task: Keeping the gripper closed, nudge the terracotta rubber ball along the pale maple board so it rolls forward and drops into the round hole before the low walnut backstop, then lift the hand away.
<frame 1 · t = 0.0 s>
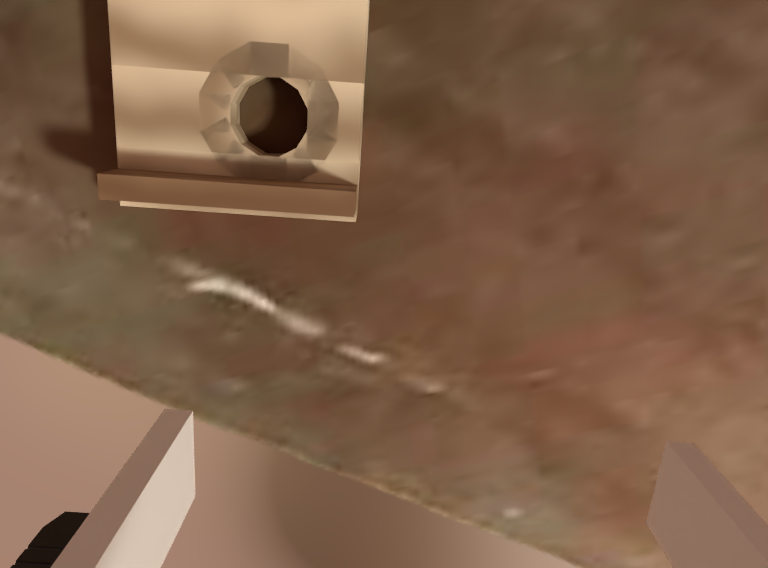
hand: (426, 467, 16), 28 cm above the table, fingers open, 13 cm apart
board: (246, 19, 39), on the table
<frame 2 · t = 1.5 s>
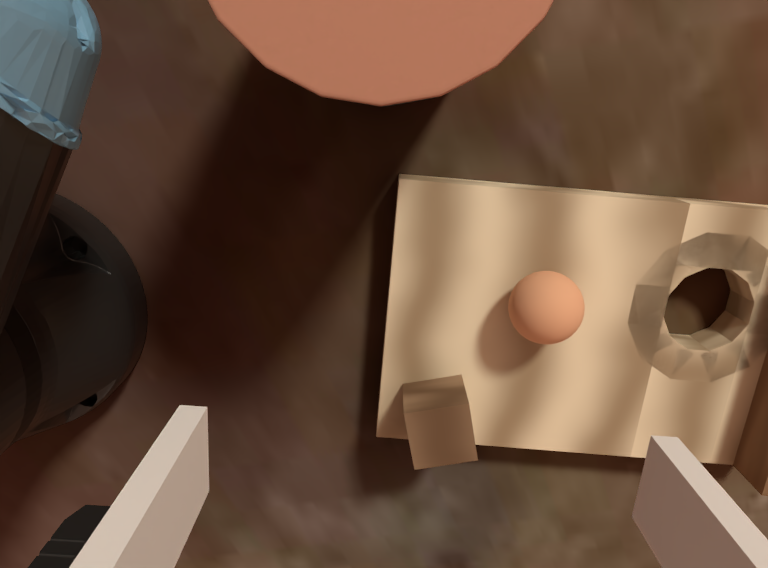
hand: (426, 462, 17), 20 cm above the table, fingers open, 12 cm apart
coffee jar: (386, 4, 32), on the table
board: (585, 319, 37), on the table
ball: (545, 307, 32), point 4 cm above the table, touching board
walnut cube: (436, 405, 36), point 2 cm above the table, touching board
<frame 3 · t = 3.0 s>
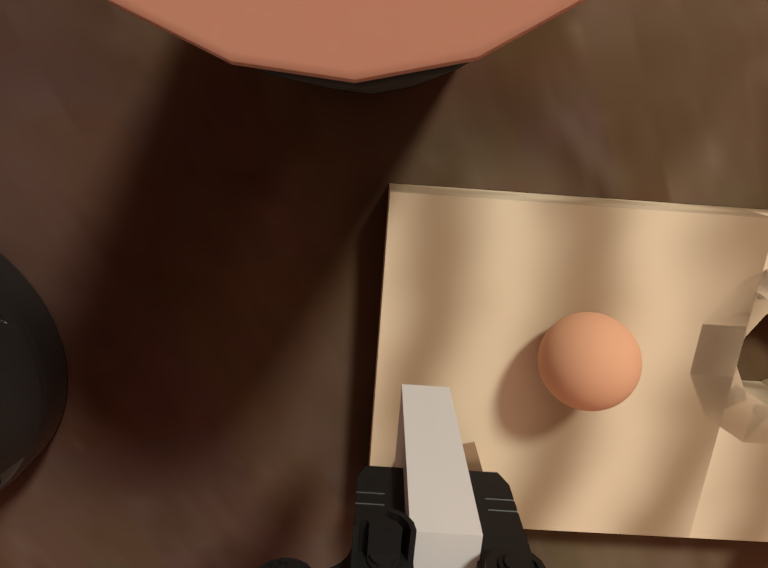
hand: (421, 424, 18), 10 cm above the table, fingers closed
board: (630, 364, 29), on the table
ball: (588, 361, 24), point 4 cm above the table, touching board
walnut cube: (442, 480, 28), point 2 cm above the table, touching board
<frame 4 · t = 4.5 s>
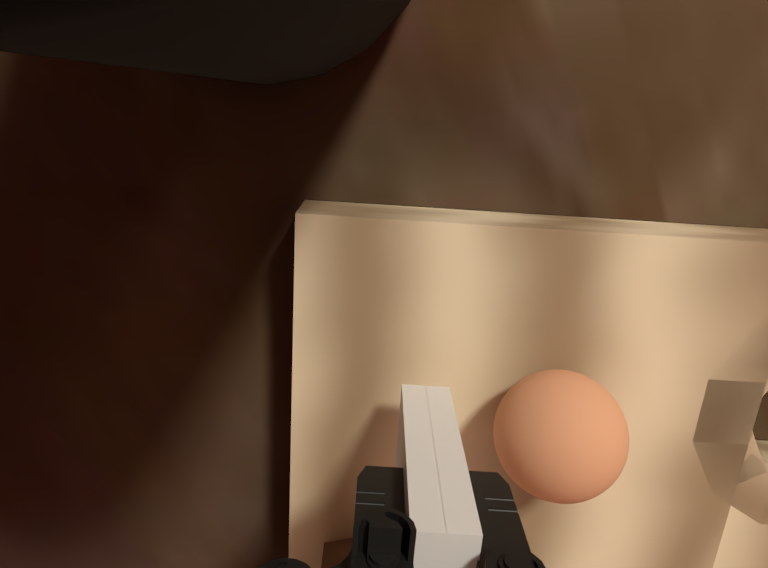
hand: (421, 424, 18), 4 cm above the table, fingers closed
board: (617, 421, 23), on the table
ball: (559, 434, 18), point 4 cm above the table, touching board
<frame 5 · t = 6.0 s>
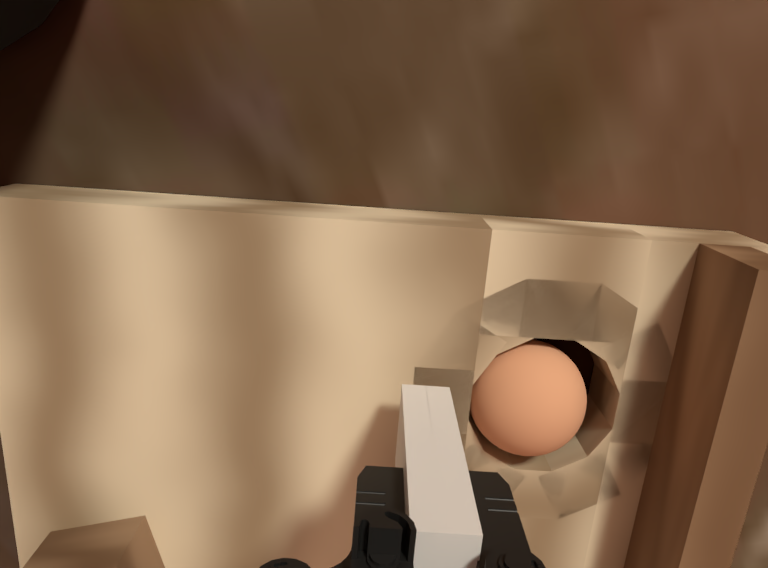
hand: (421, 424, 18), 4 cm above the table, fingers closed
board: (365, 411, 23), on the table
ball: (526, 396, 20), point 2 cm above the table, tilted 57°
walnut cube: (113, 563, 22), point 2 cm above the table, touching board
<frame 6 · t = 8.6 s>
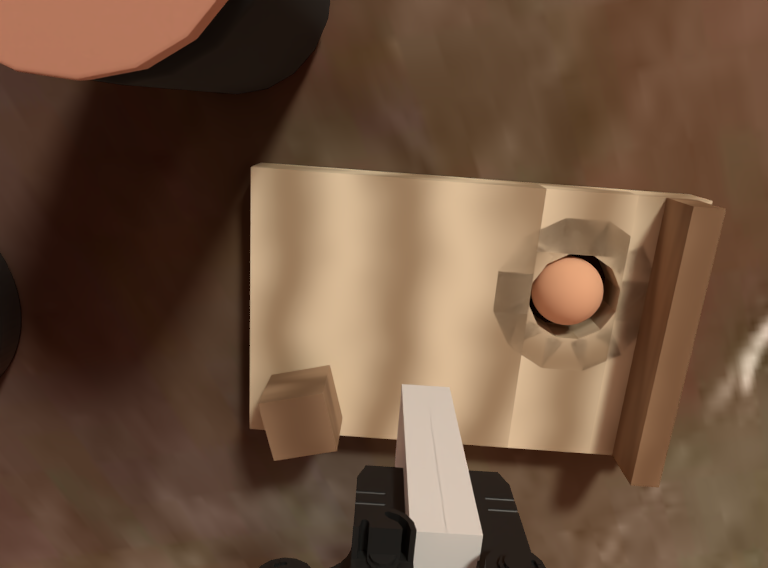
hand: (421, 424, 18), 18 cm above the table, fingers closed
board: (460, 308, 36), on the table
ball: (566, 290, 34), point 2 cm above the table, tilted 54°
walnut cube: (307, 396, 35), point 2 cm above the table, touching board
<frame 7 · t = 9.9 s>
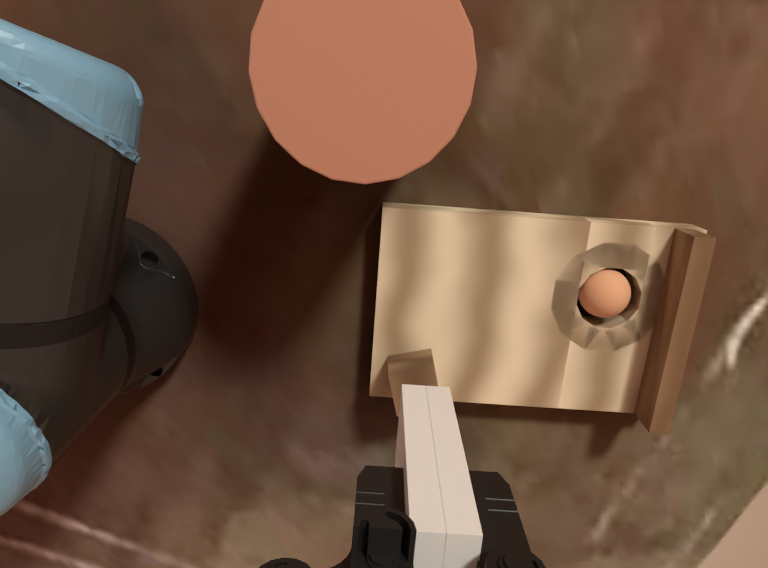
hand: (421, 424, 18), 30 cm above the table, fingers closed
coffee jar: (371, 82, 44), on the table
board: (523, 306, 49), on the table
ball: (604, 292, 47), point 2 cm above the table, tilted 52°
walnut cube: (413, 371, 49), point 2 cm above the table, touching board
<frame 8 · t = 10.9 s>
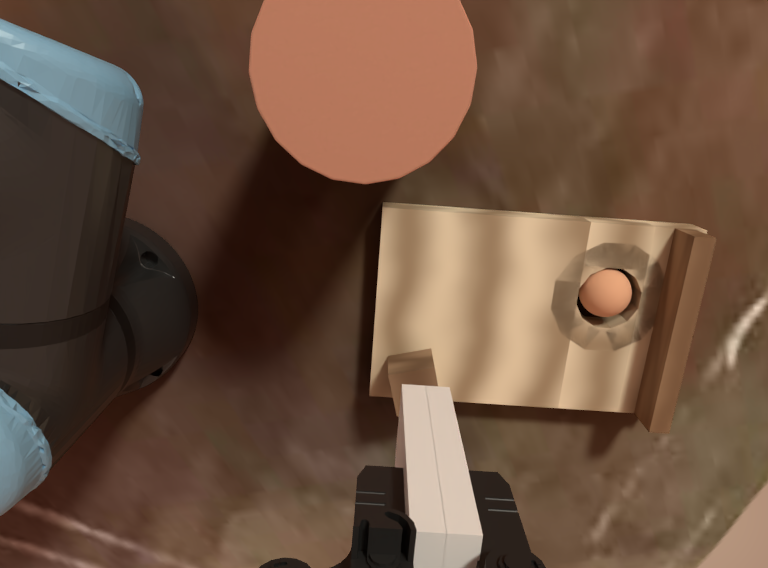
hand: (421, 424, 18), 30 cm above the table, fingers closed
coffee jar: (371, 82, 44), on the table
board: (523, 306, 49), on the table
ball: (604, 292, 47), point 2 cm above the table, tilted 51°
walnut cube: (413, 371, 49), point 2 cm above the table, touching board
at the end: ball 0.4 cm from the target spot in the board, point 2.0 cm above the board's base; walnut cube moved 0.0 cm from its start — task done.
